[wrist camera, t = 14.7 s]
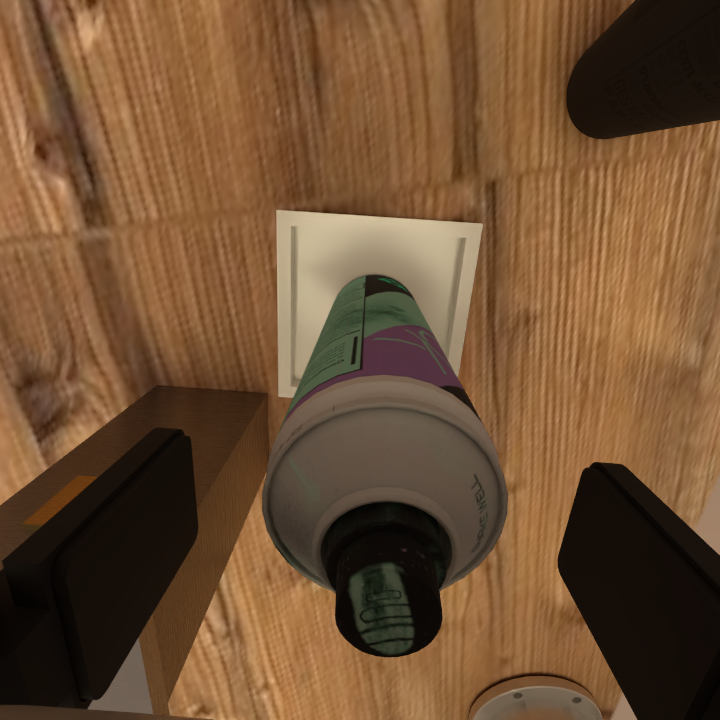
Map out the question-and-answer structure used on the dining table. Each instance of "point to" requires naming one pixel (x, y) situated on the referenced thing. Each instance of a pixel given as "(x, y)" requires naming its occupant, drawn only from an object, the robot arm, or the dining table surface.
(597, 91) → the drinking cup
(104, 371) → the dining table surface
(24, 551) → the robot arm
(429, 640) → the spray can
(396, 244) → the dish
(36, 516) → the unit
